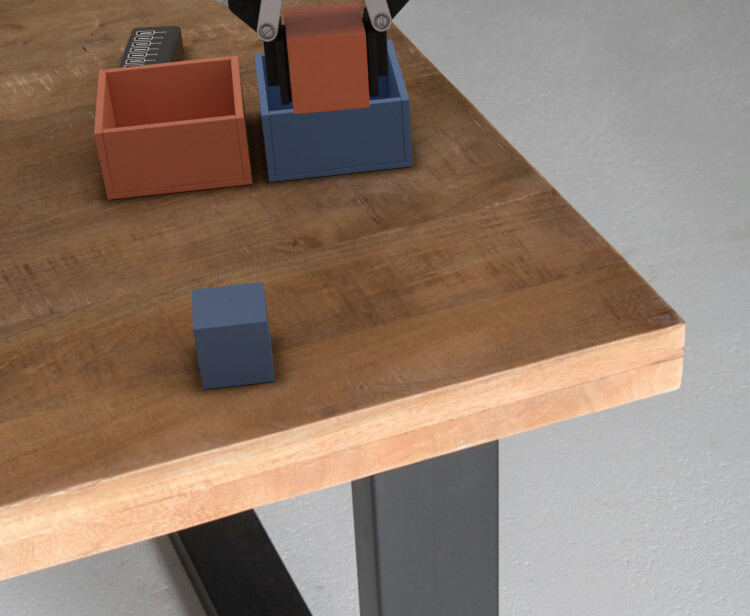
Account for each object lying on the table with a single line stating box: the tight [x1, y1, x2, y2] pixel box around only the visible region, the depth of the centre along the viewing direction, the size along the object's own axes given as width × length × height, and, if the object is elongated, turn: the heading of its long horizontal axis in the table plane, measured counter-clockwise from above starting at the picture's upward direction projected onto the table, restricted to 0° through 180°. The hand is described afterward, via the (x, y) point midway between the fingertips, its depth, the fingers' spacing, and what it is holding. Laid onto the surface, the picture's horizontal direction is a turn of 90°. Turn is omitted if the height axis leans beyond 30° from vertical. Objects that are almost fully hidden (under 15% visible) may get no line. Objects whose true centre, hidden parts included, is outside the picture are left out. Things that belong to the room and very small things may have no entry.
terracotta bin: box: [93, 55, 253, 201], centre depth 111 cm, size 11×11×6 cm
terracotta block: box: [282, 1, 370, 114], centre depth 85 cm, size 5×5×5 cm
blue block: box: [191, 281, 276, 391], centre depth 90 cm, size 5×5×5 cm
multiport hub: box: [117, 25, 185, 68], centre depth 122 cm, size 4×14×2 cm, turn 178°
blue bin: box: [253, 38, 414, 183], centre depth 112 cm, size 11×11×6 cm
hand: (328, 88), depth 87 cm, fingers closed on terracotta block, 4 cm apart
